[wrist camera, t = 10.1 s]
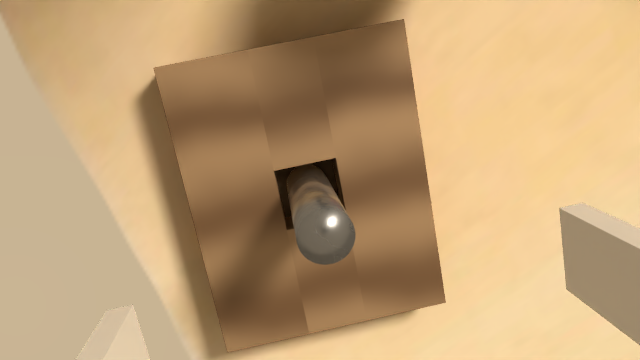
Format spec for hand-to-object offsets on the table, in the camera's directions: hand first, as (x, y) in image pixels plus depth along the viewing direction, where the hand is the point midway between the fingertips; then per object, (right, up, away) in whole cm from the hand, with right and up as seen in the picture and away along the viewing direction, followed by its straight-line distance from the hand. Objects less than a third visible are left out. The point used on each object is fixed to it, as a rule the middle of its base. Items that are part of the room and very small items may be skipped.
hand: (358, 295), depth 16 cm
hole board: (-2, +3, +22) cm, 22 cm away
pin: (-2, +3, +22) cm, 22 cm away
